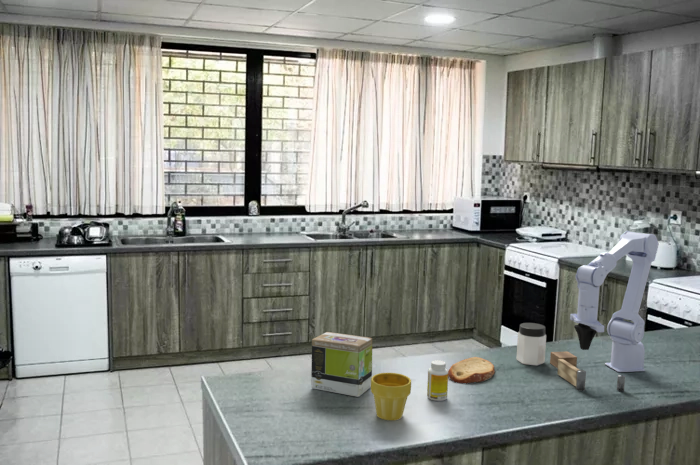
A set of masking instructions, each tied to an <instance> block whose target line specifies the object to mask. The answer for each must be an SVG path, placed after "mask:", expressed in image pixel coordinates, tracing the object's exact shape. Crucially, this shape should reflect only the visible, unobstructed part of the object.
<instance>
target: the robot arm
mask: <svg viewBox="0 0 700 465" xmlns="http://www.w3.org/2000/svg"><path fill="white" fill-rule="evenodd" d="M619 236H620V237H619V240H618V242H617V243H616V244H615V245H614V246H613V247H612V248H611V249H610V251H608V252H600V253H599V255H598V256H597V257H595V258H594V259H593V260H591V261H590V262H589V263H588V264H587V265H586V264H583V265H581V266H579V267H578V268H577V270H576V274H575V280H576V282H577V287H576V288H577V289H578V297H577V310H576V311H577V312H576V313H570V315H569V320H570V321H572V322H574V323H576V324H574V326H573V327H574V329H575V332H576V334H577V337H578V342H579V347H580V350H583V351H589V350H590V347H591V344H592V341H593V339H594V337H595V336H596V335H597V333H604V332H605V325H603V324H602V323H601V322H600V321H599V320H598V313H599V312H598V311H599V298H600V286H602V285H603V284H604V281H605V279H606V278H607V275H608V274H609V273H610V272H611V271H613V270H614V269H615V268H616V267H617V264H618V261H619V260H620V259H622V258H623V257H625V256H627V257H628V258H629V259H631V261H632V266H631V271H630V275H629V277H628V282H627V286H626V290H625V292H624V295H623V301H622V304H621V309H619V310H617V311H615V312H614V313H612V315H611V318H610V320H609V322H608V324H607V326H606V327H607V328H606V331H607V335H608V336H609V337H610V340H612V343H611V354H610V362H605V363H604V365H606V366H607V367H609V368H610V369H613V370H615V371H616V372H617V373H629V372H645V371H646V369H645V368H644V367H645V354H646V350H645V345H644V344H643V342H642V340H643V338H644V335H645V322H646V321H645V320H644V318H642V317H641V315H640V314H639V312H640V308H641V304H642V300H643V297H644V292H645V289H646V285H647V282H648V278H649V274H650V270H651V266H652V262H655V259H656V256H657V253H658V248H659V241H658V238H657V236H656V234H654V233H646V232H645V233H643V232H637V231H631V230H625V231H624V232H623V233H622V234H620V235H619Z"/></svg>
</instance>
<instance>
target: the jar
mask: <svg viewBox="0 0 700 465" xmlns="http://www.w3.org/2000/svg"><path fill="white" fill-rule="evenodd" d="M546 344H547V334H546V326H545V325H544V324H540V323H535V322H523V323H520V324H519V331H518V332H517V344H516V358H515V359H516V361H518V362H519V363H521V364H522V365H531V366H539V365H542V364H544V363H545V361H546V360H545V358H546V349H547V348H546Z"/></svg>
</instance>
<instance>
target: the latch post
mask: <svg viewBox="0 0 700 465" xmlns="http://www.w3.org/2000/svg"><path fill="white" fill-rule="evenodd" d="M616 381H617V382H616V391H617V392H620V391H621V392H625V382H626V375H624V374H617V380H616Z"/></svg>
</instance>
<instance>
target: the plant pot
mask: <svg viewBox="0 0 700 465" xmlns="http://www.w3.org/2000/svg"><path fill="white" fill-rule="evenodd" d="M411 391H412V379H411V378H410V377H409V376H407V375H405V374H402V373H398V372H381V373H375V374H374V375H373V376H372V378H371V387H370V392H371V393H372V395H373V399H374V406H375V412H376V413H375V414H376V416H377V417H378V418H379V419H381V420H384V421H397V420H400V419H402V418H403V414H404V411H405V408H406V403H407V400H408V397H409V396H410V395H411Z"/></svg>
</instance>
